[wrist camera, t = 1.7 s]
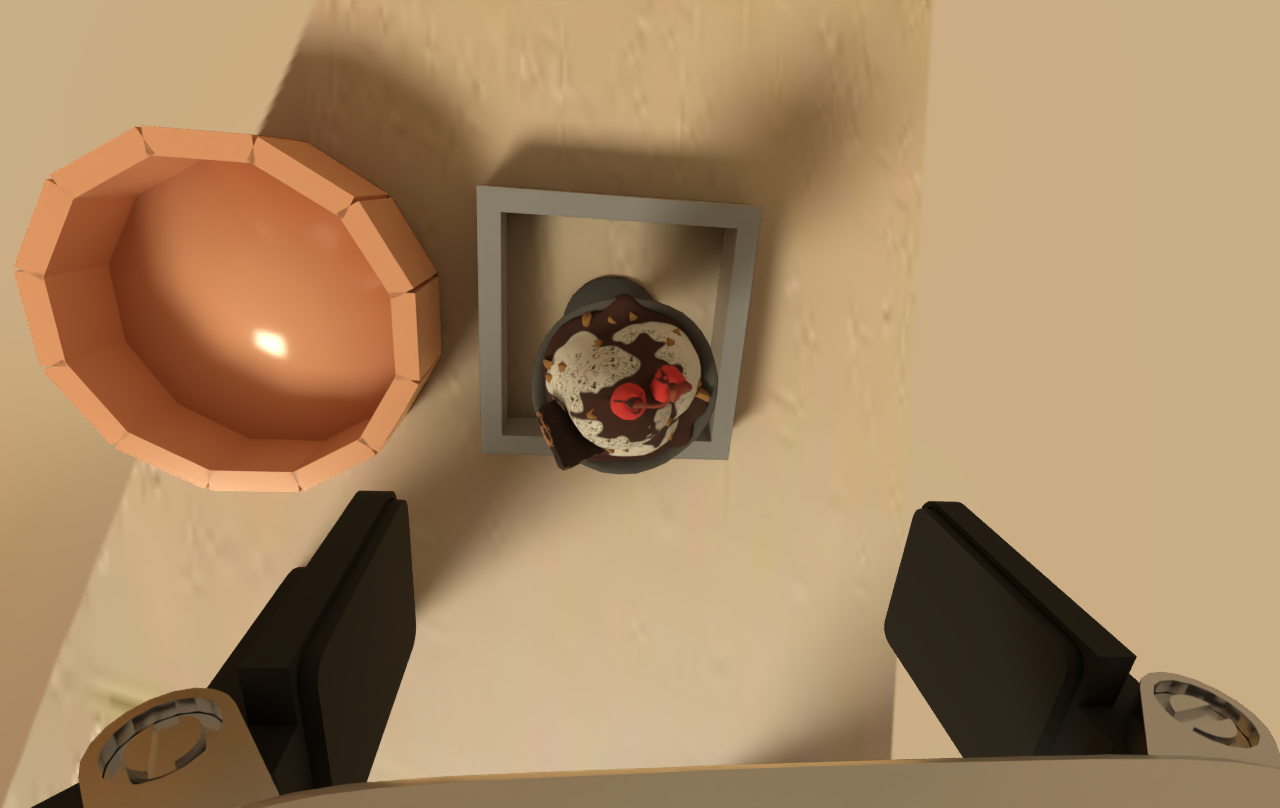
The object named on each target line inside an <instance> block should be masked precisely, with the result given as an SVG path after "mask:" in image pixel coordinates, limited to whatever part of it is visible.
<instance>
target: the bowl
mask: <svg viewBox="0 0 1280 808" xmlns="http://www.w3.org/2000/svg"><path fill="white" fill-rule="evenodd" d="M50 176H51V178H52V179H46V180H45V183H44V186H43V189H42V192H41V194H40V197H39V200H38V202H37V205H36V208H35V210H34V213H33V216H32V218H31V221H30V224H29V227H28V229H27V232H26V235H25V237H24V240H23V243H22V245H21V248H20V251H19V254H18V256H17V259H16V262H15V264H14V266H15V267H17V268H19V269H21V270H19V271H14V273H15V277H16V281H17V285H18V288H19V292H20V295H21V299H22V303H23V306H24V310H25V314H26V317H27V321H28V324H29V328H30V332H31V335H32V339H33V343H34V346H35V350H36V354H37V357H38V361H39V364H40V365H41V366H50V367H48V368H46V369H44V370H43V371H44V372H45V374H46V375H48V377H49V378H50V379H51V380H52V381H53V382H54V383H55V384H56V386H57V387H58V388H59V389H60V390H61V391H62V392H63V393H64V394H65V395H66V396H67V397H68V399H69V400H70V401H71V402H72V403H73V404H74V405H75V406H76V407H77V408H78V409H79V411H80V412H81V413H82V414H83V415H84V416H85V417H86V418H87V419H88V420H89V422H90V423H91V424H92V425H93V426H94V427H95V428H96V429H97V430H98V431H99V432H100V433H101V435H102V436H103V437H104V438H105V439H106V440H107V441H108V442H109V443H110V444H111V445H113V444H114V443H116V442H118V441H119V442H118V445H117V447H116V449H118V450H120V451H122V452H125V453H127V454H129V455H131V456H133V457H136V458H138V459H140V460H142V461H144V462H146V463H149V464H151V465H153V466H155V467H157V468H160V469H162V470H164V471H166V472H168V473H171V474H173V475H175V476H177V477H179V478H182V479H184V480H186V481H188V482H190V483H193V484H195V485H197V486H199V487H201V488H203V489H206V488H207V487H208V486H209V488H210V490H218V491H269V492H300V491H301V490H303V491H305V490H307V489H309V488H311V487H313V486H315V485H317V484H319V483H321V482H323V481H325V480H327V479H329V478H331V477H333V476H335V475H337V474H339V473H341V472H343V471H345V470H347V469H349V468H351V467H353V466H355V465H357V464H359V463H361V462H363V461H365V460H367V459H369V458H371V457H373V456H375V455H376V454H377V453H378V452H380V450H381V449H382V447H383V446H384V445H385V443H386V442H387V441H388V439H389V438H390V437H391V435H392V434H393V432H394V431H395V430H396V428H397V427H398V426H399V424H400V423H401V422H402V420H403V419H404V417H405V416H406V414H407V413H408V411H409V409H410V408H411V406H412V404H413V403H414V401H415V399H416V398H417V396H418V394H419V392H420V391H421V389H422V387H423V386H424V384H425V382H426V381H427V379H428V377H429V376H430V374H431V372H432V371H433V369H434V367H435V365H436V364H437V362H438V360H439V359H440V354H441V353H442V348H441V323H440V297H439V277H433V275H434V274H436V273H437V271H436V269H435V268H434V266H433V265H432V263H431V261H430V260H429V258H428V256H427V255H426V253H425V251H424V250H423V248H422V246H421V245H420V243H419V241H418V240H417V238H416V237H415V235H414V233H413V232H412V230H411V228H410V227H409V225H408V223H407V222H406V220H405V218H404V217H403V215H402V213H401V212H400V210H399V209H398V207H397V205H396V204H395V202H394V200H393V199H392V198H386V197H387V195H388V193H386V192H384V191H383V190H381V189H380V188H378V187H377V186H375V185H373V184H372V183H370V182H369V181H367V180H365V179H364V178H362V177H361V176H359V175H358V174H356V173H354V172H353V171H351V170H350V169H348V168H347V167H345V166H343V165H342V164H340V163H339V162H337V161H336V160H334V159H332V158H331V157H329V156H328V155H326V154H325V153H323V152H321V151H320V150H318V149H317V148H315V147H313V146H312V145H310V144H309V143H304V142H303V141H297V140H289V139H282V138H274V137H267V136H259V135H251V134H239V133H225V132H213V131H201V130H189V129H177V128H164V127H151V126H141V127H134V128H132V129H130V130H129V131H127V132H125V133H123V134H121V135H120V136H118V137H116V138H114V139H113V140H111V141H109V142H107V143H106V144H104V145H102V146H100V147H98V148H97V149H95V150H93V151H91V152H90V153H88V154H86V155H84V156H82V157H81V158H79V159H77V160H75V161H74V162H72V163H70V164H68V165H66V166H65V167H63V168H61V169H59V170H58V171H56V172H54V173H52V174H50Z"/></svg>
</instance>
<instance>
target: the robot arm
mask: <svg viewBox="0 0 1280 808" xmlns="http://www.w3.org/2000/svg"><path fill="white" fill-rule="evenodd" d="M884 630H885V635H886V639H887V641H888V643H889V645H890V646H891V648H892V649H893V651H894V652H895V654H896V655H897V657H898V658H899V660H900V661H901V663H902V664H903V666H904V668H905V669H906V670H907V672H908V673H909V675H910V677H911V678H912V680H913V681H914V683H915V684H916V686H917V688H918V689H919V691H920V692H921V694H922V695H923V697H924V698H925V700H926V701H927V703H928V704H929V706H930V707H931V709H932V711H933V712H934V714H935V715H936V717H937V718H938V720H939V721H940V723H941V724H942V726H943V728H944V729H945V731H946V732H947V734H948V735H949V737H950V738H951V740H952V741H953V743H954V744H955V746H956V747H957V749H958V750H959V752H960V754H961V755H962V757H963V758H940V759H903V760H868V761H836V762H805V763H775V764H745V765H716V766H687V767H662V768H636V769H610V770H585V771H559V772H534V773H510V774H488V775H467V776H445V777H431V778H418V779H404V780H392V781H379V782H367V780H368V777H369V774H370V771H371V768H372V765H373V762H374V759H375V756H376V753H377V751H378V748H379V745H380V742H381V739H382V736H383V733H384V730H385V727H386V724H387V721H388V719H389V716H390V713H391V710H392V707H393V704H394V701H395V698H396V695H397V692H398V690H399V687H400V684H401V681H402V678H403V675H404V672H405V669H406V666H407V663H408V660H409V658H410V655H411V652H412V649H413V645H414V641H415V635H416V617H415V602H414V588H413V574H412V560H411V546H410V532H409V517H408V506H407V502H406V500H397V498H396V495H395V493H394V492H393V491H358V492H357V493H356V494H355V496H354V497H353V499H352V500H351V502H350V503H349V504H348V506H347V507H346V509H345V510H344V512H343V513H342V515H341V516H340V518H339V519H338V521H337V522H336V524H335V525H334V526H333V528H332V529H331V531H330V532H329V534H328V535H327V537H326V538H325V540H324V541H323V543H322V544H321V546H320V547H319V549H318V550H317V551H316V553H315V554H314V556H313V557H312V559H311V560H310V562H309V563H308V565H307V566H306V567H298V568H295V569H293V570H292V571H291V572H290V573H289V574H288V575H287V576H286V578H285V579H284V581H283V582H282V583H281V585H280V586H279V588H278V589H277V590H276V592H275V593H274V595H273V596H272V598H271V599H270V600H269V602H268V603H267V605H266V606H265V607H264V609H263V610H262V612H261V613H260V614H259V616H258V617H257V619H256V620H255V621H254V623H253V624H252V626H251V627H250V628H249V630H248V631H247V633H246V634H245V635H244V637H243V638H242V640H241V641H240V642H239V644H238V645H237V647H236V648H235V649H234V651H233V652H232V654H231V655H230V656H229V658H228V659H227V661H226V662H225V663H224V665H223V666H222V668H221V669H220V670H219V672H218V673H217V675H216V676H215V677H214V679H213V680H212V682H211V683H210V685H209V686H208V687H207V688H191V689H185V690H179V691H173V692H170V693H167V694H164V695H162V696H159V697H156V698H153V699H150V700H148V701H146V702H144V703H142V704H140V705H138V706H137V707H135V708H133V709H131V710H129V711H127V712H126V713H124V714H123V715H122V716H120V717H119V718H117V719H116V720H115V721H113V722H112V723H111V724H109V725H108V726H107V727H106V728H105V729H104V730H103V731H102V732H101V733H100V734H99V735H98V736H97V737H96V738H95V739H94V740H93V741H92V742H91V743H90V745H89V747H88V748H87V750H86V752H85V754H84V755H83V757H82V759H81V761H80V767H79V776H78V779H79V783H77V784H75V785H73V786H71V787H70V788H68V789H66V790H64V791H62V792H60V793H58V794H56V795H54V796H52V797H50V798H49V799H47V800H45V801H43V802H41V803H39V804H37V805H35V806H33V807H31V808H1280V753H1279V750H1278V748H1277V745H1276V742H1275V740H1274V738H1273V736H1272V735H1271V733H1270V731H1269V730H1268V728H1267V727H1266V726H1265V725H1264V724H1263V723H1262V722H1261V721H1260V720H1259V719H1258V718H1257V717H1256V716H1255V715H1254V714H1253V713H1252V712H1251V711H1249V710H1248V709H1247V708H1245V707H1244V706H1243V705H1241V704H1240V703H1239V702H1237V701H1236V700H1234V699H1232V698H1231V697H1229V696H1227V695H1226V694H1224V693H1222V692H1220V691H1218V690H1217V689H1215V688H1213V687H1210V686H1208V685H1206V684H1204V683H1202V682H1199V681H1197V680H1194V679H1191V678H1188V677H1185V676H1181V675H1178V674H1172V673H1165V672H1156V673H1149V674H1147V675H1146V676H1144V677H1143V678H1142V679H1141V681H1140V683H1139V682H1138V681H1137V680H1136V679H1135V678H1133V677H1132V676H1131V675H1130V674H1129V672H1130V670H1131V668H1132V665H1133V663H1134V661H1135V659H1136V655H1134V654H1133V653H1132V652H1131V651H1130V650H1129V649H1127V648H1126V647H1125V646H1124V645H1123V644H1122V643H1121V642H1120V641H1118V640H1117V639H1116V638H1115V637H1114V636H1113V635H1112V634H1111V633H1109V632H1108V631H1107V630H1106V629H1105V628H1104V627H1102V626H1101V625H1100V624H1099V623H1098V622H1097V621H1096V620H1095V619H1093V618H1092V617H1091V616H1090V615H1089V614H1088V613H1087V612H1085V611H1084V610H1083V609H1082V608H1081V607H1080V606H1078V605H1077V604H1076V603H1075V602H1074V601H1073V600H1072V599H1071V598H1070V597H1068V596H1067V595H1066V594H1065V593H1064V592H1063V591H1061V590H1060V589H1059V588H1058V587H1057V586H1056V585H1055V584H1053V583H1052V582H1051V581H1050V580H1049V579H1048V578H1047V577H1046V576H1044V575H1043V574H1042V573H1041V572H1040V571H1039V570H1038V569H1036V568H1035V567H1034V566H1033V565H1032V564H1031V563H1030V562H1028V561H1027V560H1026V559H1025V558H1024V557H1023V556H1022V555H1020V554H1019V553H1018V552H1017V551H1016V550H1015V549H1014V548H1012V547H1011V546H1010V545H1009V544H1008V543H1007V542H1006V541H1004V540H1003V539H1002V538H1001V537H1000V536H999V535H998V534H997V533H995V532H994V531H993V530H992V529H991V528H990V527H988V526H987V525H986V524H985V523H984V522H983V521H982V520H981V519H979V518H978V517H977V516H976V515H975V514H974V513H973V512H972V511H970V510H969V509H968V508H967V507H966V506H965V505H963V504H962V503H960V502H942V501H929V502H927V503H925V504H924V505H923V506H922V509H918V510H916V512H915V513H914V516H913V519H912V522H911V526H910V530H909V534H908V537H907V541H906V545H905V548H904V552H903V556H902V559H901V563H900V567H899V571H898V574H897V578H896V582H895V585H894V589H893V593H892V596H891V600H890V604H889V608H888V611H887V615H886V619H885V624H884ZM366 782H367V783H366Z"/></svg>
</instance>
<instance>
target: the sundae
mask: <svg viewBox="0 0 1280 808" xmlns="http://www.w3.org/2000/svg"><path fill="white" fill-rule="evenodd" d="M717 389H718V374H717V369H716V364H715V360H714V357H713V354H712V350H711V347H710V345H709V343H708V341H707V340H706V338H705V336H704V335H703V333H702V331H701V330H700V329H699V328H698V327H697V325H696V324H695V323H694V322H693V321H692V320H691V319H690V318H688V317H687V316H686V315H685V314H683V313H682V312H680V311H678V310H676V309H674V308H672V307H670V306H668V305H665V304H662V303H659V302H656V301H654V300H653V299H652V297H651V296H650V295H649V293H648V292H647V291H646V290H645V289H644V288H643V287H641V286H640V285H638V284H636V283H635V282H632V281H630V280H628V279H626V278H619V277H604V278H600V279H596V280H594V281H591V282H589V283H587V284H585V285H584V286H583V287H582V288H580V289H579V290H578V291H577V292H576V293H575V294H574V295H573V296H572V298H571V300H570V302H569V303H568V305H567V308H566V310H565V313H564V317H563V318H561V319H560V320H559V321H558V322H557V323H556V324H555V325H554V326H553V328H552V329H551V330H550V332H549V333H548V334H547V335H546V337H545V339H544V342H543V344H542V346H541V348H540V350H539V353H538V355H537V358H536V361H535V364H534V367H533V375H532V404H533V407H534V410H535V413H536V416H537V419H538V422H539V425H540V428H541V431H542V433H543V436H544V438H545V440H546V442H547V444H548V446H549V448H550V449H551V451H552V453H553V455H554V458H555V460H556V463H557V465H558V467H559V468H560V469H562V470H563V471H564V470H568V469H570V468H572V467H574V466H576V465H578V464H580V463H581V464H583V465H584V466H587V467H589V468H592V469H594V470H597V471H600V472H603V473H612V474H637V473H640V472H643V471H646V470H650V469H653V468H655V467H657V466H660V465H662V464H664V463H666V462H668V461H669V460H671V459H672V458H674V457H675V456H677V455H678V454H679V453H681V452H682V451H683V450H684V449H686V448H687V447H688V446H689V445H690V444H691V443H692V442H693V441H694V440H695V439H697V438H698V437H699V435H700V434H701V432H702V431H703V430H704V428H705V427H706V425H707V423H708V421H709V419H710V418H711V416H712V414H713V412H714V408H715V403H716V398H717Z"/></svg>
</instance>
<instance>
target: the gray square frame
mask: <svg viewBox="0 0 1280 808" xmlns="http://www.w3.org/2000/svg"><path fill="white" fill-rule="evenodd" d="M476 192H477V248H478V304H479V360H480V416H481V453H484V454H521V455H553V453H552V451H551V449H550V448H549V446H548V444H547V442H546V440H545V438H544V436H543V433H542V431H541V428H540V425H539V422H538V419H537V418H529V417H507V212H509V213H523V214H537V215H551V216H565V217H580V218H594V219H608V220H622V221H636V222H651V223H665V224H679V225H693V226H707V227H721V228H725V232H724V240H723V249H722V257H721V266H720V275H719V283H718V292H717V300H716V309H715V318H714V326H713V335H712V343H711V350H712V354H713V357H714V360H715V364H716V369H717V374H718V389H717V398H716V403H715V408H714V412H713V414H712V416H711V418H710V419H709V421H708V423H707V425H706V427H705V428H704V430H703V431H702V432H701V434H700V435H699V437H698V438H697V439H695V440H694V441H693V442H692V443H691V444H690V445H689V446H688V447H687V448H686V449H684V450H683V451H682V452H681V453H679V454H678V455H677V456H675V457H674V458H672V459H705V460H728V457H729V450H730V442H731V435H732V428H733V420H734V413H735V405H736V398H737V391H738V383H739V376H740V368H741V361H742V354H743V346H744V339H745V331H746V324H747V317H748V309H749V302H750V294H751V287H752V280H753V272H754V265H755V257H756V250H757V243H758V235H759V228H760V220H761V213H762V207H759V206H753V205H745V204H732V203H719V202H705V201H692V200H679V199H665V198H652V197H639V196H626V195H612V194H599V193H586V192H572V191H559V190H546V189H532V188H519V187H506V186H492V185H478V186H476Z"/></svg>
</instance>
